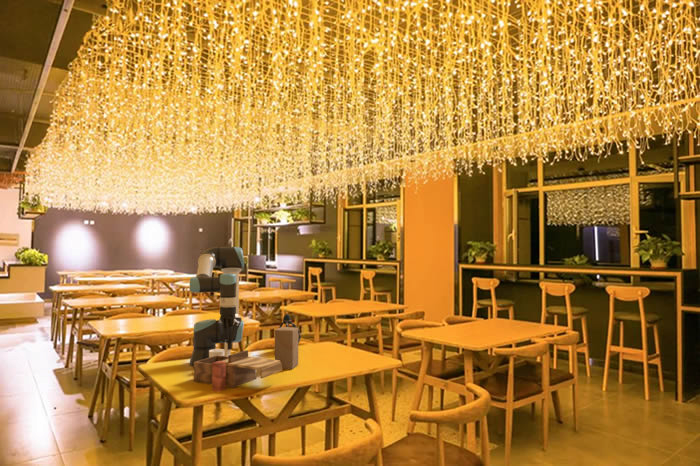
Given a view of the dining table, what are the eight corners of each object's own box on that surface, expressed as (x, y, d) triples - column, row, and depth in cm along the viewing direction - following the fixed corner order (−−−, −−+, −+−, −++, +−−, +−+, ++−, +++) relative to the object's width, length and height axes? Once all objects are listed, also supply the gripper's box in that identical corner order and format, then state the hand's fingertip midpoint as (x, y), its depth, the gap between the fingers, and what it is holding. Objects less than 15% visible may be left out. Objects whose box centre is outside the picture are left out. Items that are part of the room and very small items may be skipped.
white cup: (216, 372, 229) (216, 352, 229) (205, 370, 233) (205, 351, 233) (227, 369, 235) (227, 349, 236) (217, 367, 240) (217, 348, 240)
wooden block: (292, 369, 234) (292, 330, 235) (274, 368, 236) (274, 329, 237) (298, 364, 244) (298, 327, 245) (280, 364, 246) (281, 326, 247)
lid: (216, 371, 208) (217, 354, 208) (238, 364, 221) (238, 348, 222) (262, 378, 197) (262, 360, 197) (281, 370, 210) (281, 353, 210)
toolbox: (193, 381, 213) (193, 362, 214) (217, 373, 228) (217, 355, 228) (233, 387, 203) (233, 367, 203) (255, 378, 217) (256, 359, 217)
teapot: (284, 355, 267) (284, 315, 268) (266, 348, 287) (267, 311, 288) (302, 352, 274) (302, 314, 275) (284, 345, 294) (284, 309, 295)
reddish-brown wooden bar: (218, 388, 203) (218, 360, 203) (225, 389, 201) (225, 361, 201) (212, 390, 199) (212, 362, 200) (219, 391, 197) (219, 363, 198)
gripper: (211, 306, 216) (211, 356, 215) (233, 307, 210) (233, 359, 209) (222, 304, 222) (222, 353, 222) (243, 306, 217) (243, 355, 216)
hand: (227, 356), depth 215 cm, fingers closed
